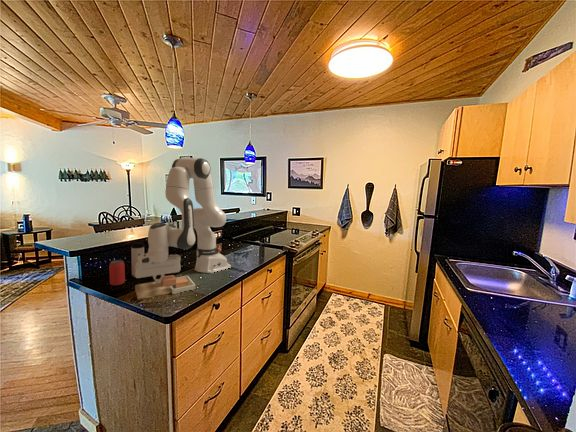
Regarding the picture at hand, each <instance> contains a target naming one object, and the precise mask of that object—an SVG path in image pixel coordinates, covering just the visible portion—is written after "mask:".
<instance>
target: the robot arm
mask: <svg viewBox="0 0 576 432" xmlns="http://www.w3.org/2000/svg"><path fill="white" fill-rule="evenodd" d="M190 179H192V181H193V190H194V191H193V192H194V196H195V197H194V198H195V201H196V203H198V204H199V205H200V206H201V207H197V208H196V207H195V208H194V204H193V201H192V200H191V198H190ZM165 197H166V200H167V201H168V202H169V203H170V204H171V205H173V206H175V207H176V208H177V209H179V211H180V214H181V228H177V227H172V226H169V225H168V224H167V223H165V222H158V223H154V224H153V223H152V224H151V225H150V226H149V229H148V233H147V243H148V249H147V252H146V253H145V252H144V254H143V255H140V256H138V258H137V260H138V262H137V263H136V265H135V272H134V275H135V277H134V278H136V279H141V278H147V277H152V278H153V280H154V282H155V284H158V283H162V279H163V277H164V276H165V275H167V274H175V273H180V271H181V270H182V269H181V261H182V258H181V255H180V254H177V253H175V254H169V247H171V248H172V247H174V248H179V249H182V250H184V251H186V250H189V249H191V248H192V247H194V246H195V243H196V239H197V247H196V262H195V266H194V271H196V272H198V273H207V274H215V273H217V271H218V272H222V271H226V270H229V269H228V268H230V269H231V268H232V266H231V264H230V263H228V259H227V257H226V256H225V255H223V254H221V252H222V249H221V247H217V236H216V233H214V231H212V229H211V228H222V227H223V226H225V224H226V222H227V215H226V213H225V212H224V211H223V210H222V209H221V208H220V207H219V205H218V203H217V200H216V198H215V192H214V185H213V179H212V175H211V165H210V163H209V161H208V160H207V159H204V158H202V157H201V158H200V157H199V158H196V157H188V158H187V157H185V158H184V157H183V158H177V159H175V160H174V161H173V162H172V164H171V168H170V169H169V172H168V175H167V178H166V185H165ZM195 231H196V233H195ZM196 235H197V236H196ZM196 237H197V238H196ZM225 269H226V270H225ZM221 270H222V271H221ZM214 272H215V273H214ZM157 276H160V278H157Z"/></svg>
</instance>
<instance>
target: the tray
mask: <svg viewBox="0 0 576 432" xmlns="http://www.w3.org/2000/svg"><path fill="white" fill-rule="evenodd" d="M175 278H176V279H179V278H186V279H187V280H188V286H186V287H181V288H175V287H174V285H170V287H171V293H170V294H172V295H178V294H181V293H180V292H182V293H185V292H184V291H187V292H190V291H189V290H192V291H195V290H194V289H197V286H196V284H195V282H194V281H193V280H192V279H191V278H190V277H189V275H184V276H177V277H175ZM177 293H178V294H177Z"/></svg>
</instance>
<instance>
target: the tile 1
mask: <svg viewBox="0 0 576 432" xmlns="http://www.w3.org/2000/svg"><path fill="white" fill-rule="evenodd" d="M161 284H162V286H163V287H164V286H170V285H176V277H175V275H174V274H172V275H164V277H163V279H162V283H161Z"/></svg>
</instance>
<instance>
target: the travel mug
mask: <svg viewBox="0 0 576 432" xmlns="http://www.w3.org/2000/svg"><path fill="white" fill-rule="evenodd" d="M130 245H131V247H130V248H131V249H130V250H131V277H133V278H136V277H135V275H134V272H135V265H136V263H137V262H138V260H137V258H138V256H140V255H143V254H145V242H144V241H142V240H131V241H130Z"/></svg>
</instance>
